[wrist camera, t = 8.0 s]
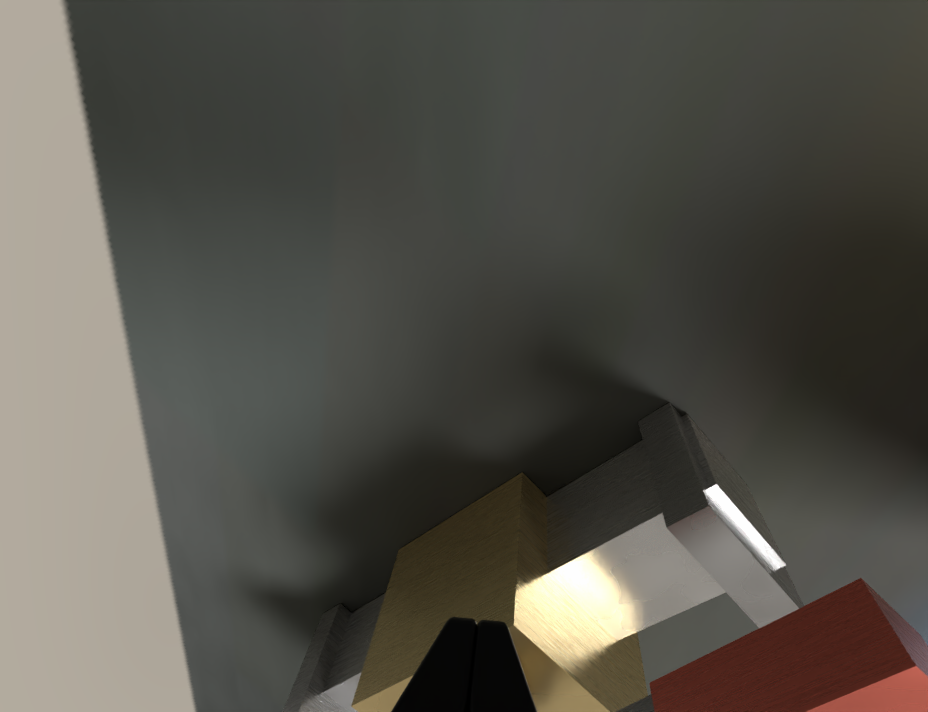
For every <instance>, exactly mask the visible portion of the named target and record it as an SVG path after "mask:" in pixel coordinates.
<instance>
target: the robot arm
mask: <svg viewBox="0 0 928 712" xmlns="http://www.w3.org/2000/svg"><path fill="white" fill-rule="evenodd" d="M391 712H537V709H536V706H535V704H534V701H533V698H532V695H531V692H530V689H529V686H528V683H527V680H526V678H525V675H524V672H523V669H522V666H521V663H520V660H519V657H518V654H517V652H516V649H515V646H514V643H513V640H512V637H511V634H510V631H509V629H508V626H507V625H506V623H504V622H502V621H493V620H481V621H479V623H478V625H477V622H476V620H474V619H472V618H461V617H451V618H449V619H448V620H447V622H446V623H445V625H444V626H443V628H442V629H441V631H440V633H439V634H438V636H437V638H436V639H435V641H434V642H433V644H432V646H431V647H430V649H429V651H428V652H427V654H426V656H425V657H424V659H423V660H422V662H421V664H420V665H419V667H418V669H417V670H416V672H415V673H414V675H413V677H412V678H411V680H410V682H409V683H408V685H407V686H406V688H405V690H404V691H403V693H402V695H401V696H400V698H399V699H398V701H397V703H396V704H395V706H394V708H393V709H392V711H391Z"/></svg>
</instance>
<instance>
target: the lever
mask: <svg viewBox="0 0 928 712" xmlns="http://www.w3.org/2000/svg"><path fill="white" fill-rule="evenodd" d="M650 689H651V695H649V696H647V697H645V698H643V699H641V700H639V701H636V702H634V703H632V704H630V705H628V706H626V707H624V708H622V709H620V710H618V711H616V712H928V646H927V644H926V643H925V641H924V640H923V638H922V637H921V635H920V634H919V633H918V632H917V631H916V630H915V629H914V628H913V627H912V626H910V625H909V624H908V623H907V622H906V621H905V620H904V619H903V618H902V617H901V616H900V615H899V614H898V613H897V612H896V611H895V610H894V609H893V608H892V607H891V606H890V605H889V604H888V603H887V602H885V601H884V600H883V599H882V598H881V597H880V596H879V595H878V594H877V593H876V592H875V591H874V590H873V589H872V588H871V587H870V586H869V585H868V584H867V583H866V582H865V581H864V580H863V579H862V578H860V579H858V580H856V581H854V582H852V583H850V584H848V585H846V586H844V587H842V588H840V589H838V590H836V591H834V592H832V593H830V594H828V595H826V596H824V597H822V598H820V599H818V600H816V601H814V602H812V603H810V604H808V605H806V606H804V607H802V608H800V609H798V610H796V611H794V612H792V613H790V614H788V615H786V616H784V617H781V618H779V619H777V620H775V621H773V622H771V623H769V624H767V625H765V626H763V627H761V628H759V629H757V630H755V631H753V632H751V633H749V634H747V635H745V636H743V637H741V638H739V639H737V640H735V641H733V642H731V643H729V644H727V645H725V646H723V647H721V648H719V649H717V650H715V651H713V652H711V653H709V654H707V655H705V656H703V657H701V658H699V659H697V660H695V661H693V662H691V663H689V664H687V665H685V666H683V667H681V668H679V669H677V670H675V671H673V672H671V673H669V674H667V675H665V676H663V677H661V678H659V679H657V680H655V681H653V682H651V683H650Z"/></svg>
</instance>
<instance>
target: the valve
mask: <svg viewBox="0 0 928 712" xmlns="http://www.w3.org/2000/svg"><path fill="white" fill-rule="evenodd" d="M638 424H639V427H640V431H641V435H642V439H643V440H642V441H640V442H639V443H637V444H635V445H634V446H632V447H630V448H629V449H627V450H625V451H624V452H622V453H620V454H618V455H617V456H615V457H613V458H612V459H610V460H608V461H607V462H605V463H603V464H602V465H600V466H598V467H597V468H595V469H593V470H592V471H590V472H588V473H586V474H585V475H583V476H581V477H580V478H578V479H576V480H575V481H573V482H571V483H570V484H568V485H566V486H565V487H563V488H561V489H560V490H558V491H556V492H555V493H553V494H551V495H549V496H548V497H546V496H545V495H544V494H543V493H542V492H541V491H540V490H539V489H538V488H537V487H536V486H535V485H534V484H533V483H532V482H531V481H530V480H529V479H528V477H527V476H526V475H525V474H524V473H523V472H522V473H520V474H518V475H517V476H515V477H514V478H512V479H511V480H509V481H507V482H506V483H504V484H503V485H501V486H499V487H498V488H496V489H495V490H493V491H491V492H490V493H488V494H487V495H485V496H483V497H482V498H480V499H479V500H477V501H475V502H474V503H472V504H471V505H469V506H468V507H466V508H464V509H463V510H461V511H460V512H458V513H456V514H455V515H453V516H452V517H450V518H448V519H447V520H445V521H444V522H442V523H440V524H439V525H437V526H436V527H434V528H432V529H431V530H429V531H428V532H426V533H425V534H423V535H421V536H420V537H418V538H417V539H415V540H413V541H412V542H410V543H409V544H407V545H405V546H404V547H402V548H401V549H399V551H398V554H397V558H396V561H395V564H394V568H393V571H392V574H391V577H390V581H389V584H388V587H387V591H386V593H384V594H383V595H381V596H379V597H378V598H376V599H374V600H373V601H371V602H369V603H368V604H366V605H364V606H363V607H361V608H359V609H358V610H356V611H354V612H353V613H351V612H350V611H349V610H347V609H346V608H345V607H344V606H343V605H341V604H338V605H337V606H335V607H334V608H332V609H330V610H329V611H327V612H325V613H324V614H322V617H321V619H320V621H319V624H318V626H317V629H316V631H315V634H314V636H313V639H312V641H311V643H310V646H309V648H308V651H307V653H306V656H305V658H304V660H303V663H302V665H301V668H300V670H299V673H298V675H297V678H296V680H295V682H294V685H293V687H292V690H291V692H290V695H289V697H288V699H287V702H286V704H285V707H284V709H283V712H391V711H392V709H393V708H394V706H395V704H396V703H397V701H398V699H399V698H400V696H401V695H402V693H403V691H404V690H405V688H406V686H407V685H408V683H409V682H410V680H411V678H412V677H413V675H414V673H415V672H416V670H417V669H418V667H419V665H420V664H421V662H422V660H423V659H424V657H425V656H426V654H427V652H428V651H429V649H430V647H431V646H432V644H433V642H434V641H435V639H436V638H437V636H438V634H439V633H440V631H441V629H442V628H443V626H444V625H445V623H446V622H447V620H448V619H449V618H451V617H461V618H472V619H474V620H476V622H477V625H478V623H479V621H481V620H493V621H502V622H504V623H506V625H507V626H508V629H509V631H510V634H511V637H512V640H513V643H514V646H515V649H516V652H517V654H518V657H519V660H520V663H521V666H522V669H523V672H524V675H525V678H526V680H527V683H528V686H529V689H530V692H531V695H532V698H533V701H534V704H535V706H536V709H537V712H616V711H618V710H620V709H622V708H624V707H626V706H628V705H630V704H632V703H634V702H636V701H639V700H641V699H643V698H645V697H647V696H648V695H647V689H646V683H645V677H644V671H643V665H642V659H641V653H640V647H639V641H638V635H637V632H638V631H640V630H642V629H645V628H647V627H649V626H651V625H654V624H656V623H658V622H660V621H663V620H665V619H667V618H669V617H671V616H674V615H676V614H678V613H680V612H683V611H685V610H687V609H689V608H692V607H694V606H696V605H698V604H701V603H703V602H705V601H707V600H710V599H712V598H714V597H716V596H719V595H721V594H723V593H725V592H726V593H727V594H728V595H729V596H730V597H731V598H732V599H733V600H734V601H735V602H736V603H737V604H738V605H739V607H740V608H741V609H742V610H743V611H744V612H745V613H746V614H747V615H748V616H749V617H750V618H751V620H752V621H753V622H754V623H755V624H756V625H757V626H758V627H759V628H761V627H763V626H765V625H767V624H769V623H771V622H773V621H775V620H777V619H779V618H781V617H784V616H786V615H788V614H790V613H792V612H794V611H796V610H798V609H800V608H802V607H804V605H803V603H802V601H801V599H800V597H799V595H798V593H797V591H796V589H795V586H794V584H793V582H792V580H791V578H790V576H789V574H788V572H787V570H786V568H785V566H786V563H785V561H784V559H783V557H782V555H781V553H780V551H779V549H778V547H777V545H776V543H775V541H774V539H773V537H772V535H771V533H770V531H769V529H768V527H767V525H766V523H765V520H764V518H763V516H762V514H761V512H760V510H759V508H758V506H757V504H756V502H755V500H754V498H753V496H752V494H751V492H750V490H749V488H748V486H747V484H746V483H745V482H744V481H743V480H742V478H741V477H740V476H739V475H738V474H737V472H736V471H735V470H734V469H733V468H732V467H731V465H730V464H729V463H728V462H727V461H726V459H725V458H724V457H723V456H722V455H721V453H720V452H719V451H718V450H717V449H716V448H715V446H714V445H713V444H712V443H711V442H710V440H709V439H708V438H707V437H706V436H705V434H704V433H703V432H702V431H701V430H700V429H699V427H698V426H697V425H696V424H695V423H694V421H693V420H692V419H691V418H690V417H689V416H688V414H686V415H684V416H682V417H681V416H680V414H679V413H678V412H677V411H676V410H675V409H674V407H673V406H672V405H671V404H670V403H668V404H666V405H664V406H663V407H661V408H659V409H658V410H656V411H655V412H653V413H651V414H650V415H648V416H646V417H645V418H643V419H641V420H640V421H638Z"/></svg>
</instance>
